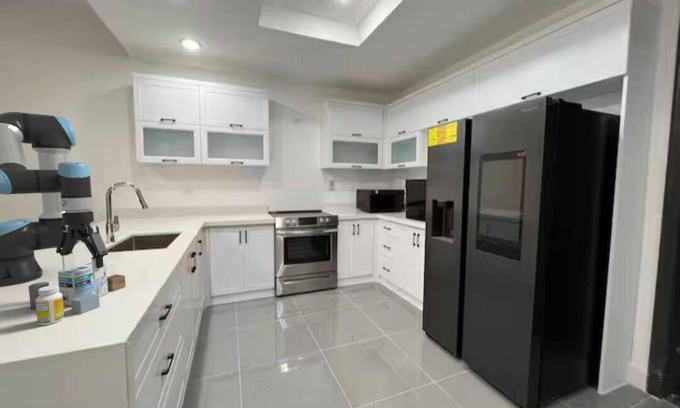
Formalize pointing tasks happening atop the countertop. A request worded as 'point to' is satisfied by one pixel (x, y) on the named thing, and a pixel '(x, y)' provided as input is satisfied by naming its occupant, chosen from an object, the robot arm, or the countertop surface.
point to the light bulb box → (81, 282)
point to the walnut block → (116, 282)
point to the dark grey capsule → (35, 293)
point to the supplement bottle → (49, 305)
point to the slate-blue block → (85, 303)
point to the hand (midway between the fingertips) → (83, 276)
